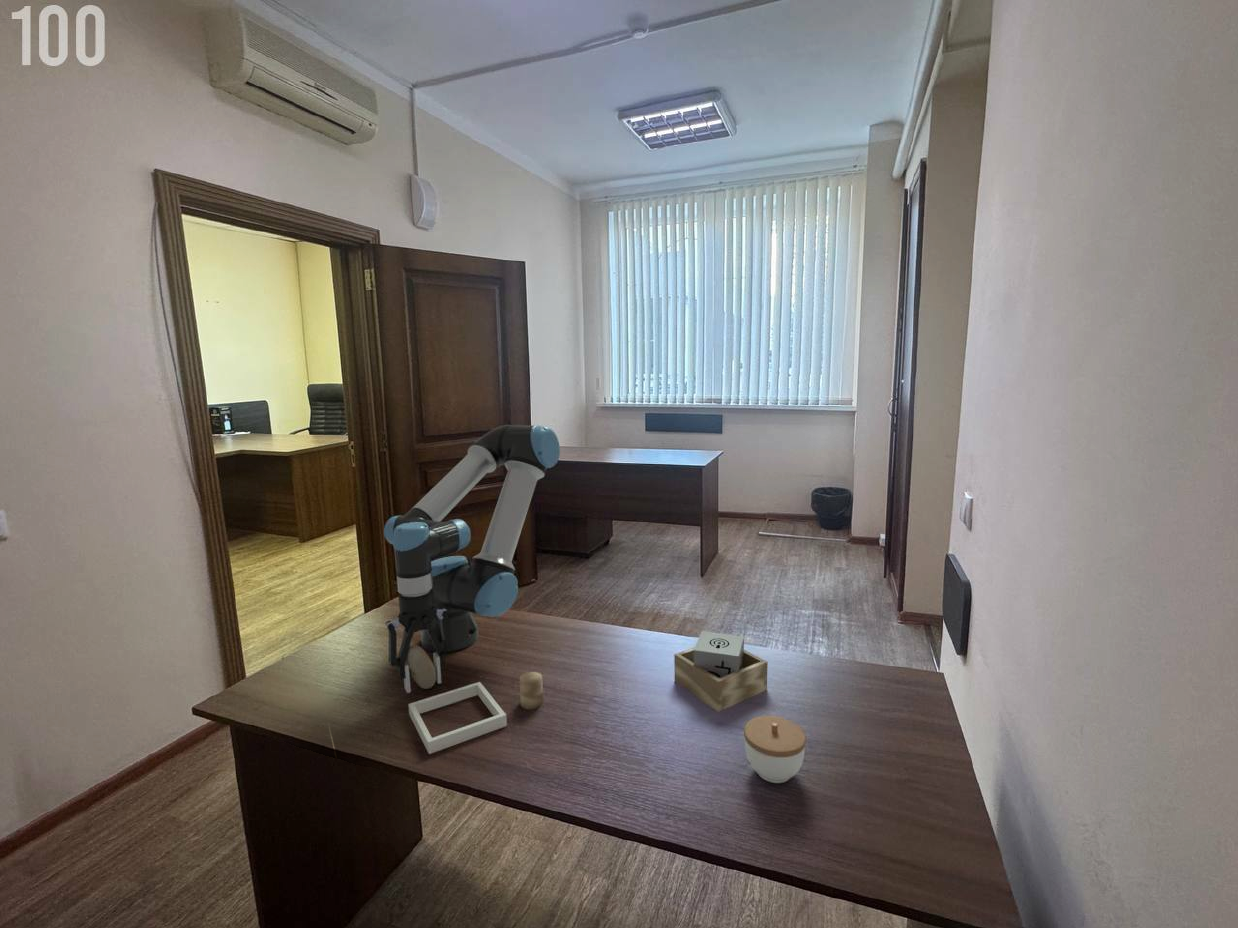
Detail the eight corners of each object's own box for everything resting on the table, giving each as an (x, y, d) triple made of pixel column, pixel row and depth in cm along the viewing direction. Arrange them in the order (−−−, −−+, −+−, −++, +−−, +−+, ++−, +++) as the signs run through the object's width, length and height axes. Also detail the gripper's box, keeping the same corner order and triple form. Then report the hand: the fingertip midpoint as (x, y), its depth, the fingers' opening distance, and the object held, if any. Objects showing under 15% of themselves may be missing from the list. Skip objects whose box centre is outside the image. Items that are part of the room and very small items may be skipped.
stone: (442, 686, 135) (438, 639, 133) (422, 700, 129) (418, 651, 127) (423, 681, 137) (419, 634, 135) (403, 695, 132) (399, 646, 130)
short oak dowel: (537, 694, 131) (536, 669, 130) (547, 704, 127) (545, 679, 126) (517, 701, 128) (515, 676, 127) (526, 711, 124) (525, 686, 123)
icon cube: (738, 698, 126) (738, 656, 125) (693, 691, 130) (693, 649, 128) (743, 675, 136) (744, 636, 134) (701, 669, 139) (701, 631, 137)
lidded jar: (771, 745, 111) (772, 700, 110) (817, 776, 102) (819, 728, 101) (731, 766, 106) (731, 719, 104) (775, 801, 97) (776, 750, 95)
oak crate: (721, 663, 143) (721, 637, 142) (766, 690, 131) (767, 661, 130) (674, 681, 135) (674, 654, 134) (718, 712, 123) (718, 681, 122)
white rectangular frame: (480, 691, 132) (479, 681, 132) (506, 725, 119) (506, 714, 119) (409, 714, 124) (408, 703, 124) (429, 754, 111) (428, 742, 110)
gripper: (452, 577, 138) (458, 666, 141) (367, 595, 127) (376, 691, 131) (462, 586, 132) (468, 679, 135) (373, 606, 121) (382, 706, 125)
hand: (423, 685), depth 133 cm, fingers closed on stone, 6 cm apart
